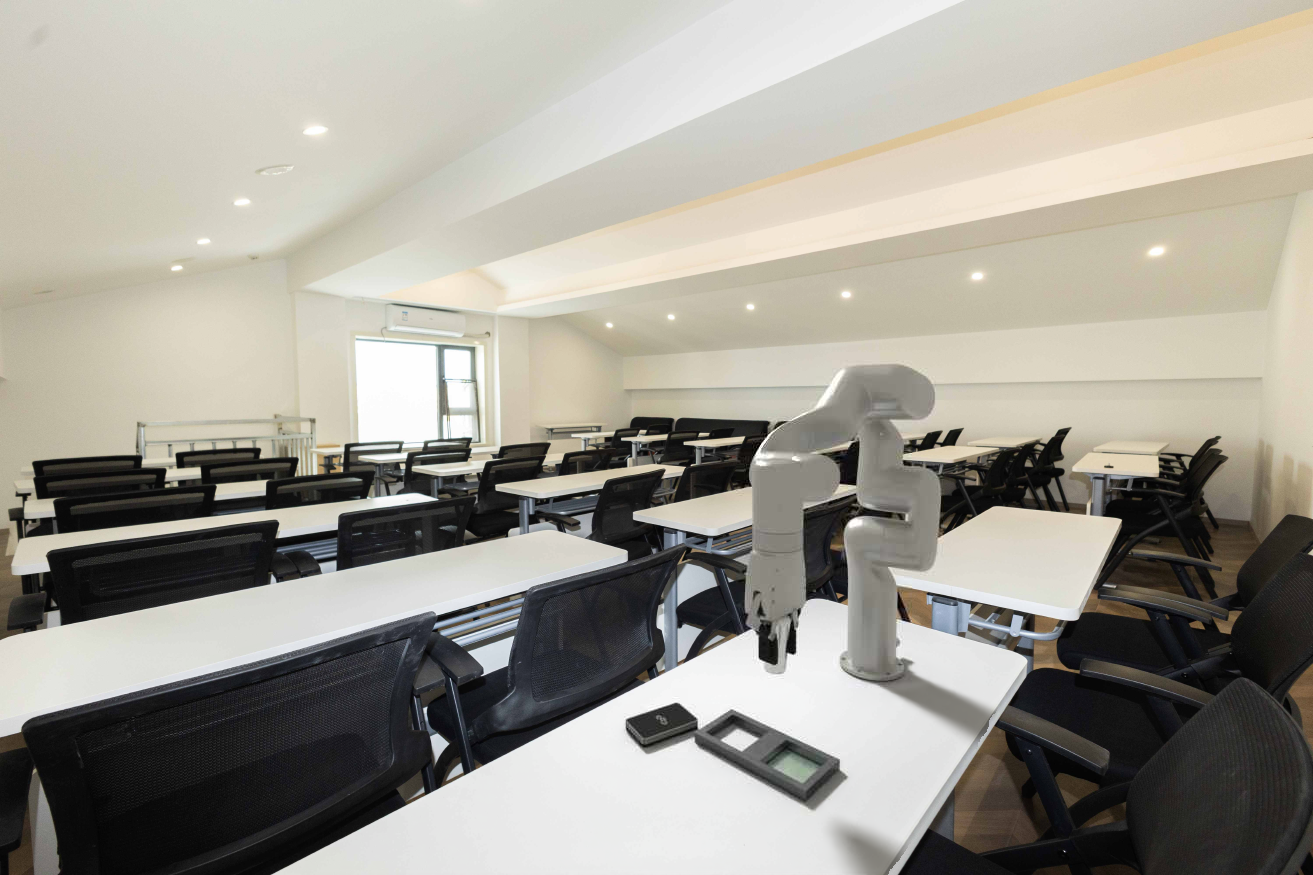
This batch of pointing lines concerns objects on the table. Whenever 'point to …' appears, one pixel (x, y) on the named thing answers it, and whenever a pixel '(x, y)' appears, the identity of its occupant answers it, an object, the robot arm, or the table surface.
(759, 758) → the two-slot gray tray
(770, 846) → the table surface
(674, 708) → the external hard drive
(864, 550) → the robot arm
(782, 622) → the milkshake
